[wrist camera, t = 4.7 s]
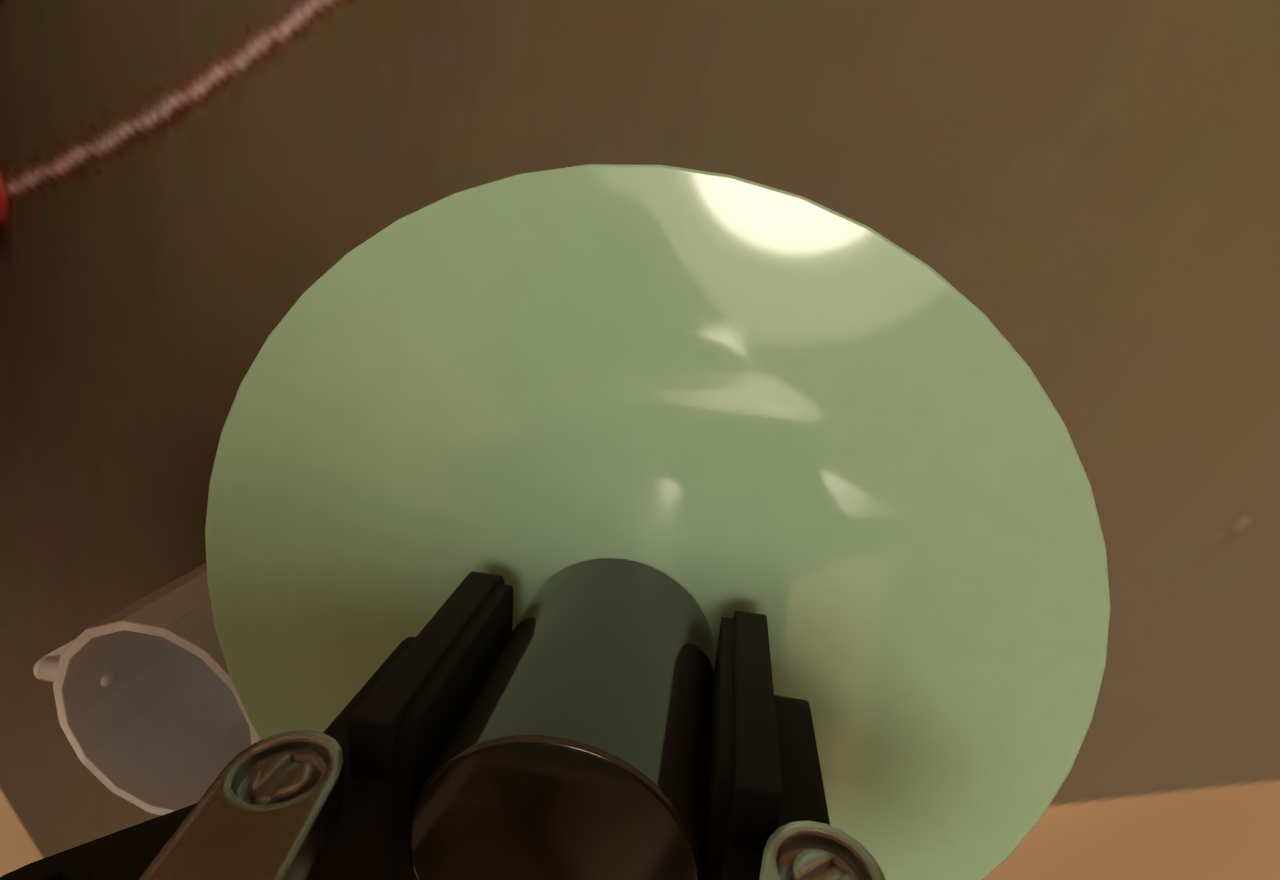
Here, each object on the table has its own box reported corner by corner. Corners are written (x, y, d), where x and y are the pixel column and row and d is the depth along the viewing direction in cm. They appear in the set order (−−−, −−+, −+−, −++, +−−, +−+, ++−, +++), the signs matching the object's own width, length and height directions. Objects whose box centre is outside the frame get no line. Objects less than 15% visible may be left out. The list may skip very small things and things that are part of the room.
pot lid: (272, 858, 16) (42, 1158, 11) (206, 137, 12) (-253, 31, 6) (962, 999, 15) (1099, 1443, 9) (1209, 215, 10) (1790, 161, 4)
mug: (387, 539, 24) (251, 644, 18) (390, 691, 26) (268, 839, 19) (174, 507, 25) (-31, 594, 19) (191, 655, 27) (10, 783, 20)
